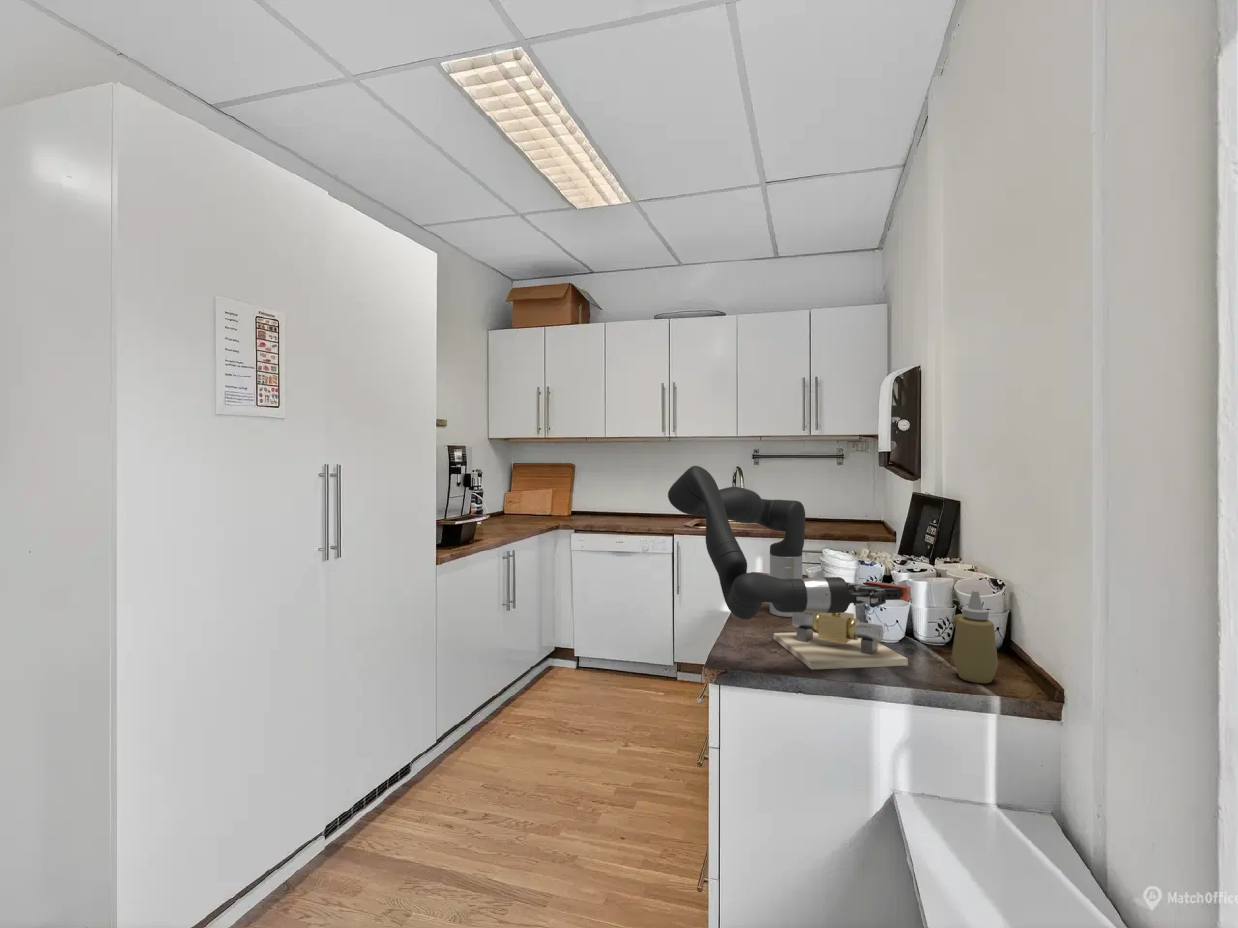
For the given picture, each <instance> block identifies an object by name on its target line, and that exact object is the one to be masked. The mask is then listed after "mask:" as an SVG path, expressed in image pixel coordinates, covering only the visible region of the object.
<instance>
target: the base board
mask: <svg viewBox="0 0 1238 928" xmlns="http://www.w3.org/2000/svg"><path fill="white" fill-rule="evenodd" d="M861 639H862V638H858V640H852V639H851V640H850V641H849V642H847V643H842V642H837V641H831V640H826V639H821V638H818V633H814V631H813V638H812V639H811V640H809V641H807V642H803V641H798V640H797V631H795V632H792V631H791V632H774V633H773V641H775V642H776V643H778V644H779V645H780V646H782V648H784V649H785V650H786V651H788V652H789V653H790V654H791V655H792V656H794V657H795V658H796V659H798V660H799V661H800V662H801V663H802V664H804V665H805V666H807V667H808V668H809V669H811V670H833V669H835V670H836V669H855V668H856V669H858V668H879V667H880V668H881V667H907V666H909V663H908V662H909V659H908V657H905V656H904V655H902V654H900V653H898V652H896V651H894V649H891V648H890V647H887V646H886V645H884V644H882V643H881V642H878V650H877V651H876V652H875V653H874V654H873V655H870V654H865V653H861Z"/></svg>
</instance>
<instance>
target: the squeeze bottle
mask: <svg viewBox="0 0 1238 928" xmlns="http://www.w3.org/2000/svg"><path fill="white" fill-rule="evenodd" d="M961 608H962V612H961V614H962V616H964V617H961V618H959V619H957V626H956V634H955V633H954V636H955V643H954V651H953V661H954V663H955V666H956V667H955V666H954V667H955V668H956V672H957V674H958V677H959V678H960V679H961V680H964V681H968V682H971V683H978V684H989V683H992V682H993V679H994V676H995V675H996V672H997V670H998V667H999V661H998V659H999V658H998V651H997V649H998V648H997V642H996V641H997V639H996V632H995V624H994V623H993V622H992V620H989V614H990V613H989V612H990V611H989V610H988V609H986V608H983V605H982V601H981V597H980V592H979V590H978V591H977V590H972V591H971V593H970V598H969V602H968V605H967V606H963V607H961Z"/></svg>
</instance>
